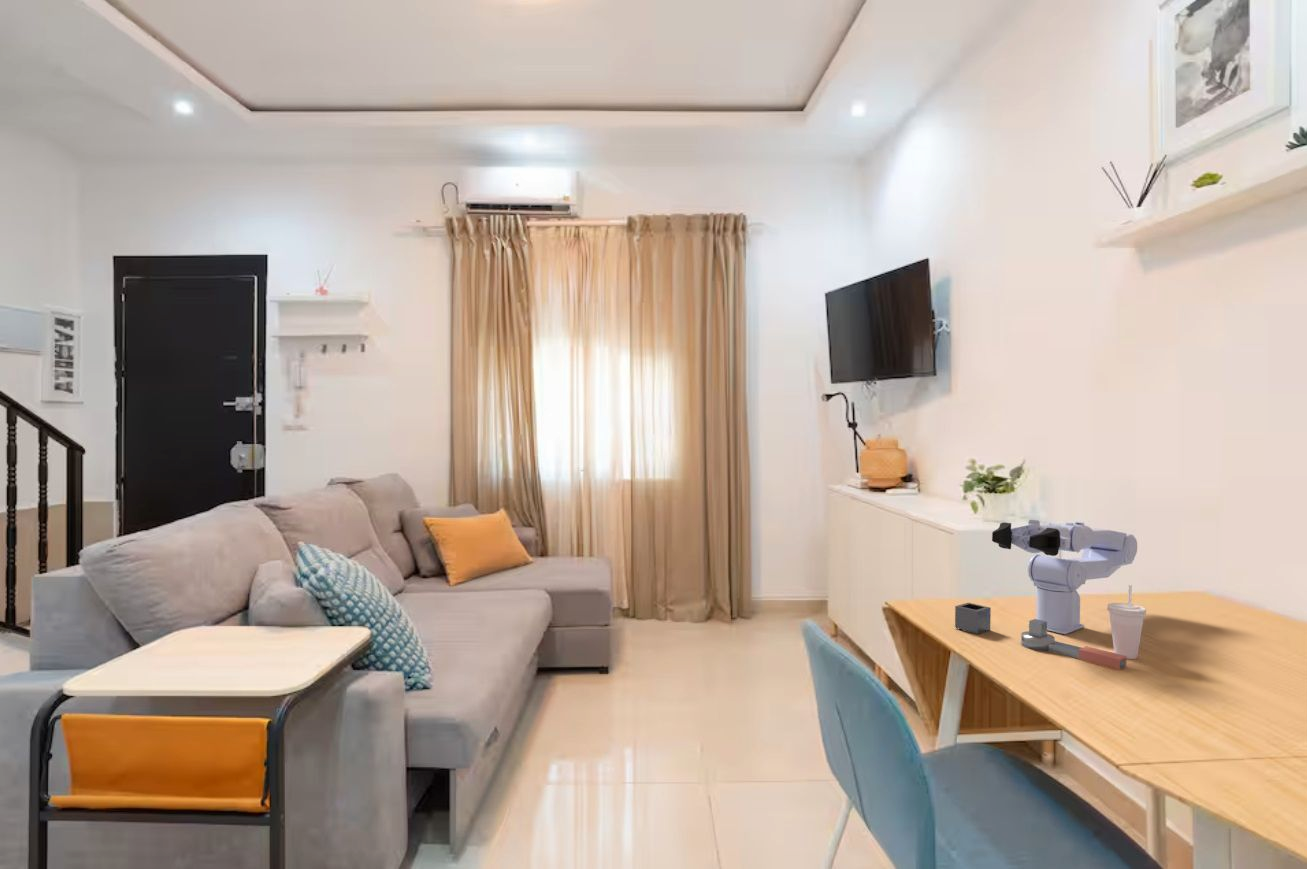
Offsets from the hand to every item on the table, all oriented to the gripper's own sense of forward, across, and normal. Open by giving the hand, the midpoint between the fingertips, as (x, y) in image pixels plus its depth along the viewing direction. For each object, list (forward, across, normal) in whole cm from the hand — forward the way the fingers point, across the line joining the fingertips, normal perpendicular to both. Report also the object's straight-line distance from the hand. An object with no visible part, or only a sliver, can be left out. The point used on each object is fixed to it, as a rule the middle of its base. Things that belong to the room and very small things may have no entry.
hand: (1012, 539), depth 146 cm
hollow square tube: (-5, -10, +21) cm, 24 cm away
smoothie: (-13, +17, +21) cm, 30 cm away
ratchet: (-5, +10, +21) cm, 24 cm away
